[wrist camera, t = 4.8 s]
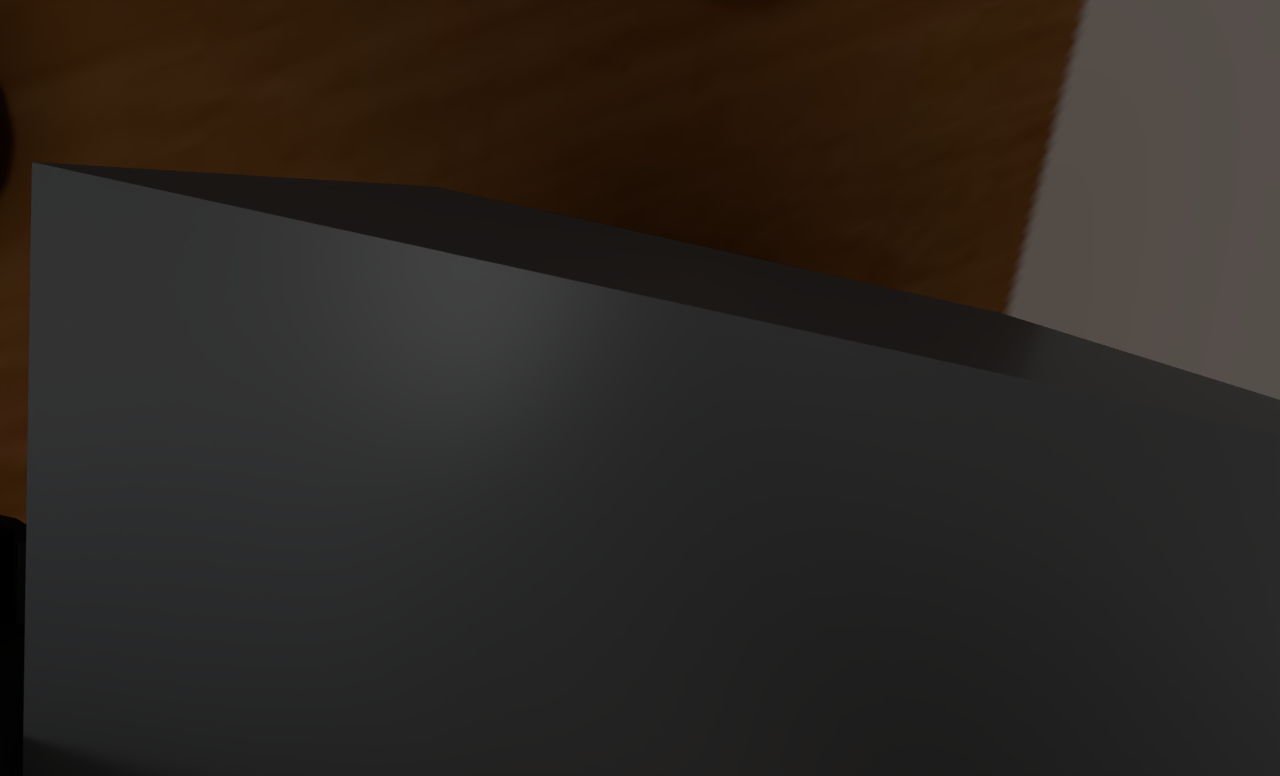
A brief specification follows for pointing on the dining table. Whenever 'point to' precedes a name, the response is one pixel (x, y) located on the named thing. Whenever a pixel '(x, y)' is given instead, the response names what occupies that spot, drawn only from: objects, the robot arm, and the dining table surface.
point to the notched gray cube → (605, 508)
